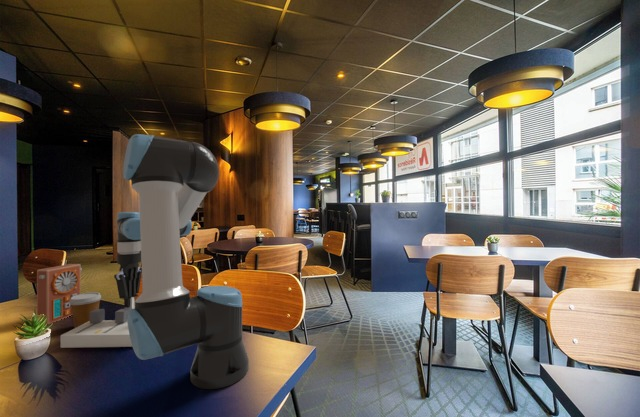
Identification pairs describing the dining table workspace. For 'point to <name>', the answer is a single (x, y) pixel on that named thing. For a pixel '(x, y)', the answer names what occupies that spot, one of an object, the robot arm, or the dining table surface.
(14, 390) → the dining table surface
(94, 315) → the tab
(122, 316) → the tab
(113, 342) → the switch bank
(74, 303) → the disposable coffee cup
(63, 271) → the control panel
